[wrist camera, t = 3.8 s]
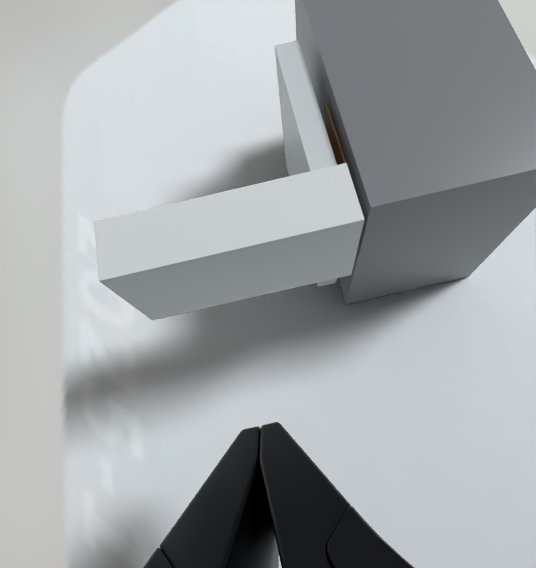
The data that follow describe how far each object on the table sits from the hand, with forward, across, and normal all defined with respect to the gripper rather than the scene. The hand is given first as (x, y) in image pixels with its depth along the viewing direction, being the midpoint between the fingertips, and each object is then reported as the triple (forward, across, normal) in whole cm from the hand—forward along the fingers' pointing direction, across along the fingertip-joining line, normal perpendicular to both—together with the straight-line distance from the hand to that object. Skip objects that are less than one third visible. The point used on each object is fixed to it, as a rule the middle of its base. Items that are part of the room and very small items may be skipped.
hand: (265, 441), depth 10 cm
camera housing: (+11, +6, +1) cm, 13 cm away
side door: (+9, 0, +1) cm, 9 cm away
